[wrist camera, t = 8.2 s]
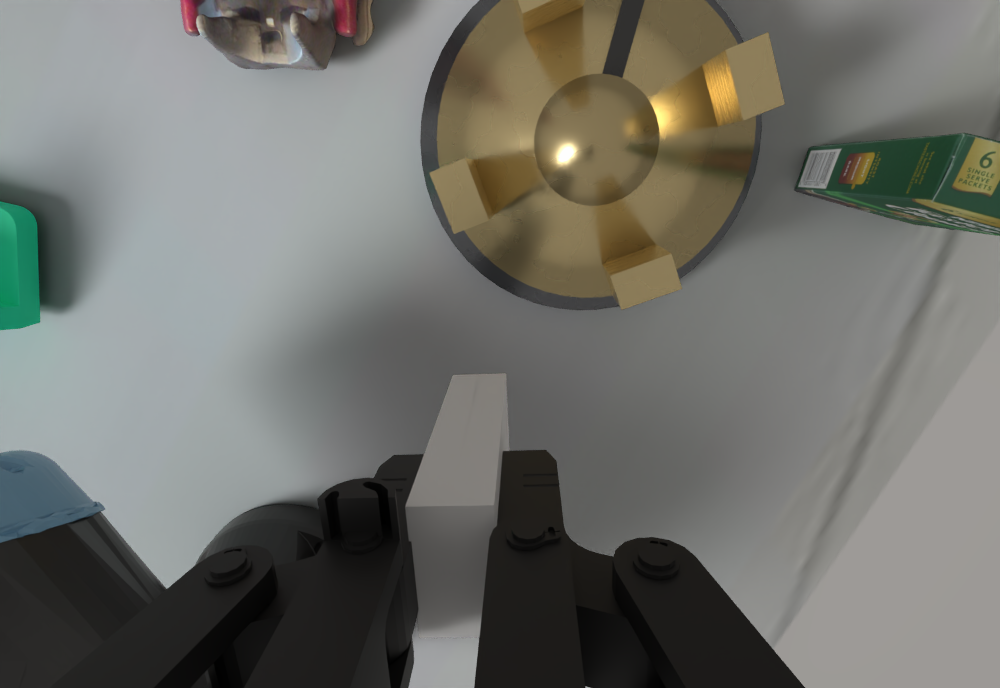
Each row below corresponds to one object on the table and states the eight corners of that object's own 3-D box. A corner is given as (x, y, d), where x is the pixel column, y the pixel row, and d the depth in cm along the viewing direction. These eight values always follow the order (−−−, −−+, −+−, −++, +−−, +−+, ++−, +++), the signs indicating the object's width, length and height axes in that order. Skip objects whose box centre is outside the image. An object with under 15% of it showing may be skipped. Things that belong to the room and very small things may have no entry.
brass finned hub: (689, -74, 28) (733, -144, 22) (766, 230, 32) (821, 244, 26) (400, 57, 30) (366, 28, 24) (505, 323, 35) (499, 357, 28)
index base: (764, 266, 35) (800, 281, 30) (470, 330, 37) (461, 353, 32) (727, -82, 30) (764, -130, 25) (388, 18, 32) (362, -9, 27)
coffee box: (784, 192, 34) (932, 204, 21) (804, 142, 33) (970, 125, 20) (912, 227, 34) (1135, 260, 21) (935, 179, 33) (1181, 184, 20)
